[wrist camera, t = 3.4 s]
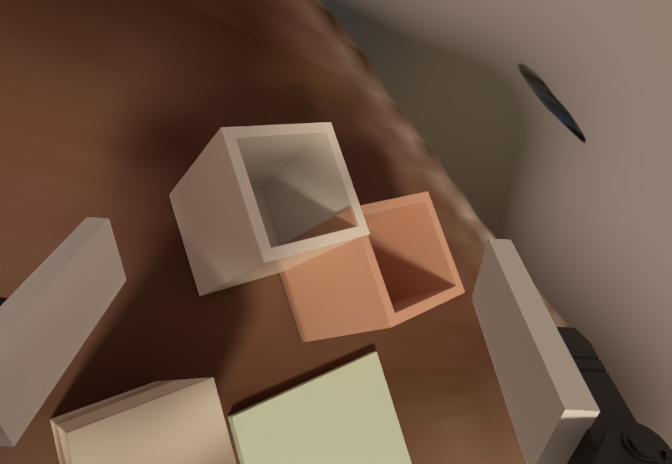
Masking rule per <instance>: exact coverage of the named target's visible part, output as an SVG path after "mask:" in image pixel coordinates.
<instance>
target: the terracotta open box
mask: <svg viewBox="0 0 672 464" xmlns="http://www.w3.org/2000/svg"><path fill="white" fill-rule="evenodd" d="M360 207H361V210H362V212H363V215H364V218H365V221H366V224H367V227H368V230H369V232H370V234H369V235H365V236H361V237H359V238H356V239H354V240H352V241H350V242H347V243H345V244H343V245H341V246H338V247H336V248H334V249H332V250H330V251H327V252H325V253H323V254H321V255H318V256H316V257H314V258H312V259H309V260H307V261H305V262H303V263H300V264H298V265H296V266H294V267H292V268H289V269H287V270H285V271H283V272H280V276H281V279H282V282H283V285H284V288H285V291H286V294H287V297H288V300H289V304H290V307H291V310H292V313H293V316H294V319H295V322H296V325H297V328H298V331H299V334H300V338H301V341H302V342H308V341H314V340H320V339H326V338H332V337H338V336H344V335H349V334H355V333H361V332H367V331H373V330H379V329H385V328H391V327H393V326H395V325H397V324H399V323H401V322H404V321H406V320H408V319H410V318H412V317H414V316H416V315H418V314H420V313H423V312H425V311H427V310H429V309H431V308H433V307H435V306H437V305H439V304H442V303H444V302H446V301H448V300H450V299H452V298H454V297H456V296H458V295H461V294H463V293H465V291H464V288H463V285H462V283H461V280H460V277H459V275H458V272H457V269H456V266H455V264H454V261H453V258H452V256H451V253H450V250H449V247H448V245H447V242H446V239H445V237H444V234H443V231H442V228H441V226H440V223H439V220H438V218H437V215H436V212H435V209H434V207H433V204H432V201H431V199H430V196H429V193H428V191H427V192H423V193H418V194H413V195H408V196H403V197H399V198H394V199H389V200H384V201H379V202H375V203H370V204H365V205H360ZM357 226H359V225H358V222H357V220H356V217H355V214H354V211H353V208H352V207H351V208H348V209H346V210H345V211H343V212H341V213H339V214H337V215H335V216H334V217H332V218H330V219H328V220H326V221H324V222H323V223H321V224H319V225H317V226H315V227H314V228H312V229H310V230H308V231H306V232H304V233H303V234H301V235H299V236H297V237H295V238H293V239H292V240H290V241H288V242H286V243H284V244H283V245H285V244H289V243H293V242H297V241H301V240H305V239H309V238H313V237H317V236H321V235H325V234H329V233H333V232H337V231H341V230H345V229H349V228H353V227H357Z"/></svg>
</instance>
